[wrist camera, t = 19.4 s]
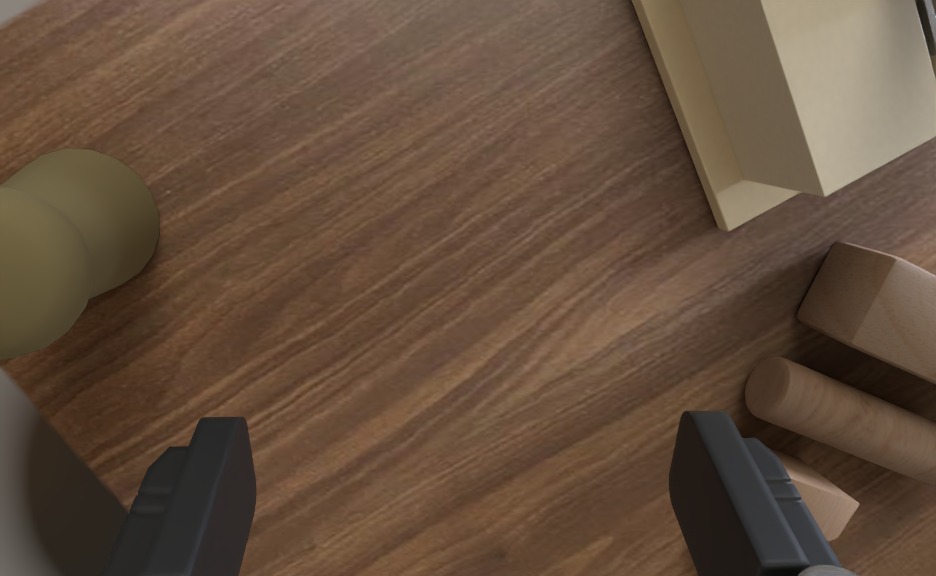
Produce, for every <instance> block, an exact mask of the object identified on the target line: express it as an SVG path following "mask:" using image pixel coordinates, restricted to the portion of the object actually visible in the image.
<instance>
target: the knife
mask: <svg viewBox="0 0 936 576" xmlns="http://www.w3.org/2000/svg"><path fill="white" fill-rule="evenodd" d="M915 3H916V6H917V10H918V14H919V18H920V22H921V26H922V29H923V33H924V37H925V41H926V45H927V49H928V52H929V56H936V16H935V12H934V8H933V4H932V0H915Z"/></svg>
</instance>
